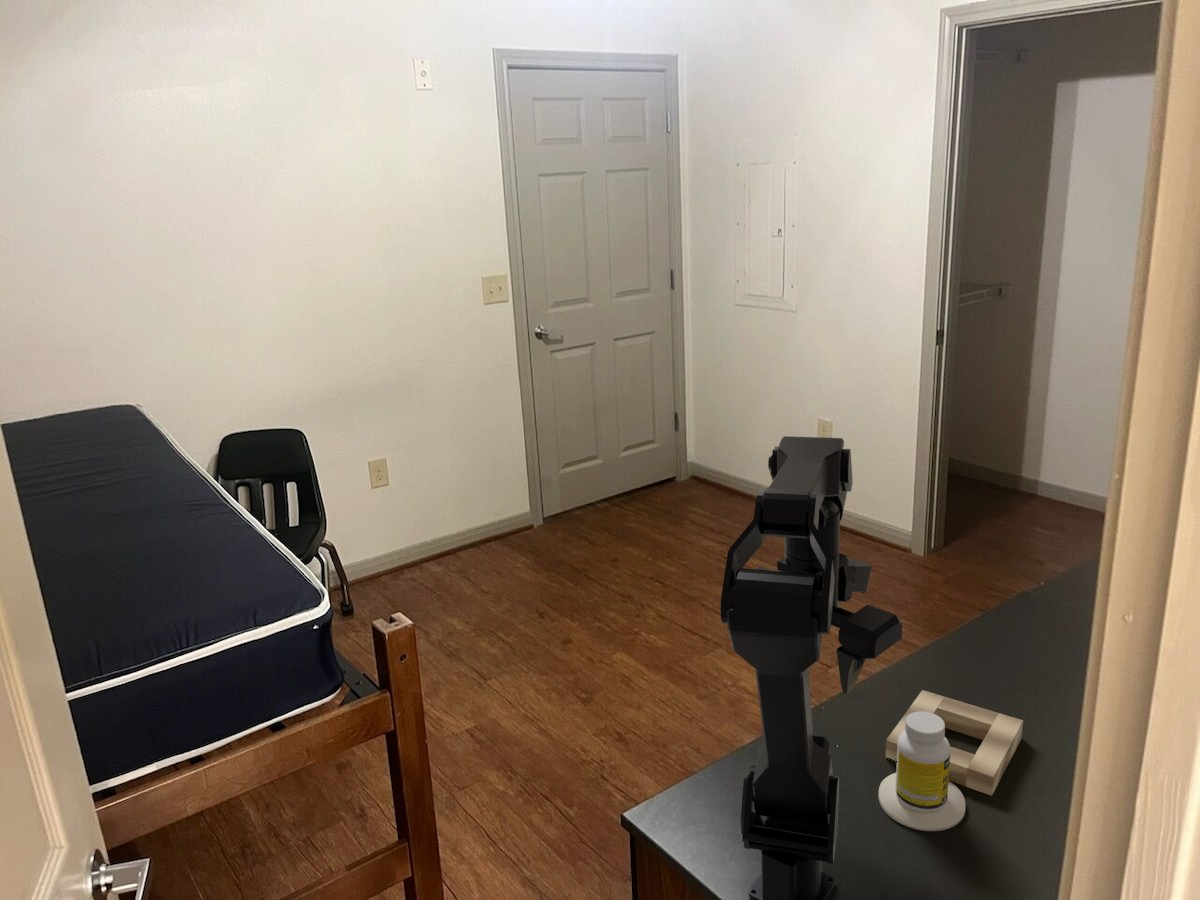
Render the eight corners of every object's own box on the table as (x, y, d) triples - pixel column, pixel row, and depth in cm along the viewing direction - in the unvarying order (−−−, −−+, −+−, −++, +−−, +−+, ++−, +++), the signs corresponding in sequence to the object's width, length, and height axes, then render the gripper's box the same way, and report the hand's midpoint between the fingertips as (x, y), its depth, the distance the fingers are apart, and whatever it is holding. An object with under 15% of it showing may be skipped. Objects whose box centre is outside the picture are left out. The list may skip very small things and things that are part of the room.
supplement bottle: (951, 817, 96) (955, 739, 93) (898, 812, 97) (900, 736, 94) (943, 783, 101) (947, 708, 98) (893, 779, 102) (895, 705, 99)
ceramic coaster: (949, 843, 93) (949, 838, 93) (865, 810, 98) (865, 805, 98) (976, 793, 100) (976, 788, 99) (896, 764, 105) (896, 760, 105)
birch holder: (991, 795, 99) (993, 777, 98) (885, 757, 106) (886, 740, 106) (1021, 738, 108) (1023, 720, 107) (921, 706, 115) (922, 689, 114)
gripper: (932, 548, 94) (926, 677, 99) (787, 506, 107) (788, 621, 112) (873, 586, 87) (870, 723, 92) (725, 536, 101) (730, 658, 106)
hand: (812, 676), depth 101 cm, fingers open, 9 cm apart
